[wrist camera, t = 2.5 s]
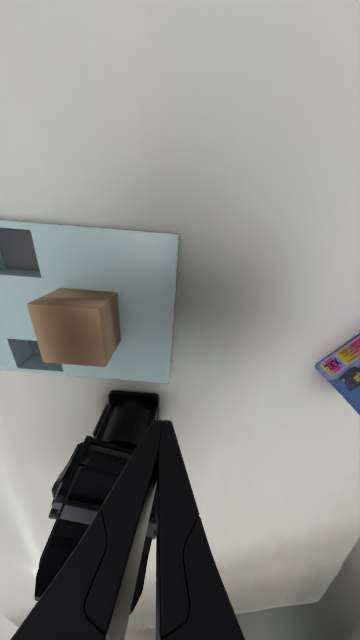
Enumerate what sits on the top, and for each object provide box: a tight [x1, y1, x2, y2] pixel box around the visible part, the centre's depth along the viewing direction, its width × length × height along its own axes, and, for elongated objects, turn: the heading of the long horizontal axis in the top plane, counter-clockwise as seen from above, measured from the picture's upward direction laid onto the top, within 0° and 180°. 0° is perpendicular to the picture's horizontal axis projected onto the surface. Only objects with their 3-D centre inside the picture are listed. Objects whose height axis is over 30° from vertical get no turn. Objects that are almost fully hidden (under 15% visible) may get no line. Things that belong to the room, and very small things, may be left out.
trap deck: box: [0, 220, 179, 383], centre depth 18 cm, size 22×15×6 cm, turn 86°
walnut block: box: [27, 288, 121, 367], centre depth 16 cm, size 5×5×4 cm
